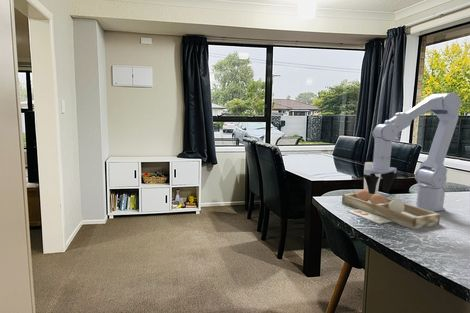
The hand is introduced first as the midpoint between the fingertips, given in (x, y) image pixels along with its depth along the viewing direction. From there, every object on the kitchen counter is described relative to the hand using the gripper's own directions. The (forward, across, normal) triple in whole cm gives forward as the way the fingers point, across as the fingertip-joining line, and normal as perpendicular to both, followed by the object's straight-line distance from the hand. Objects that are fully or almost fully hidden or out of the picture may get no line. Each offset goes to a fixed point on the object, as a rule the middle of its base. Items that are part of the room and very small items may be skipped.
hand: (378, 192), depth 121 cm
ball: (+3, 0, -7) cm, 8 cm away
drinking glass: (+7, -12, -14) cm, 20 cm away
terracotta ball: (+3, 0, 0) cm, 3 cm away
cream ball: (+3, 0, +8) cm, 9 cm away
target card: (+6, +10, +5) cm, 13 cm away
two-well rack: (+6, 0, +4) cm, 8 cm away
